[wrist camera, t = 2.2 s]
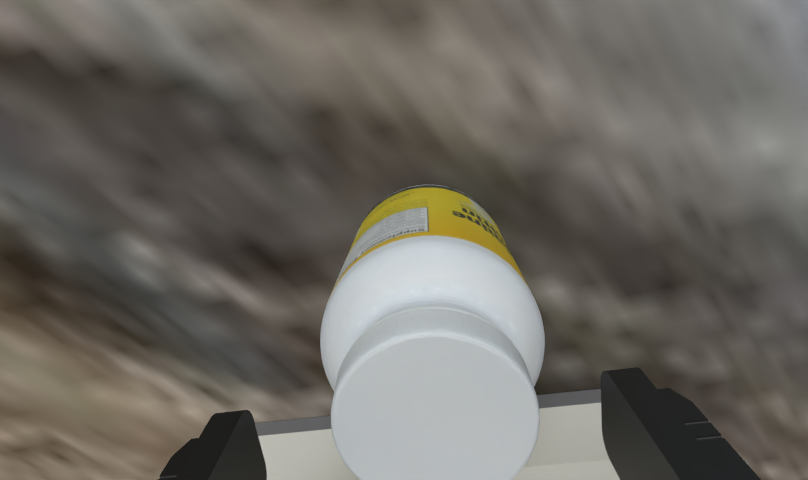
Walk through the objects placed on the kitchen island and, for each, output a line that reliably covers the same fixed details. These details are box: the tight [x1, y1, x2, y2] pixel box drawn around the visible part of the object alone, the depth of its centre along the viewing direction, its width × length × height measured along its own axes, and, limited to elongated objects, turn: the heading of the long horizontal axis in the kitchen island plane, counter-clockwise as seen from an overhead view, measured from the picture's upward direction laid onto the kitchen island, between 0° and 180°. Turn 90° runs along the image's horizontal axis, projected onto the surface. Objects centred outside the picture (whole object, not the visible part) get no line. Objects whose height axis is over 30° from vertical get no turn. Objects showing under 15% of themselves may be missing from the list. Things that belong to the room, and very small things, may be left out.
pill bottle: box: [320, 185, 545, 480], centre depth 16 cm, size 6×6×12 cm
